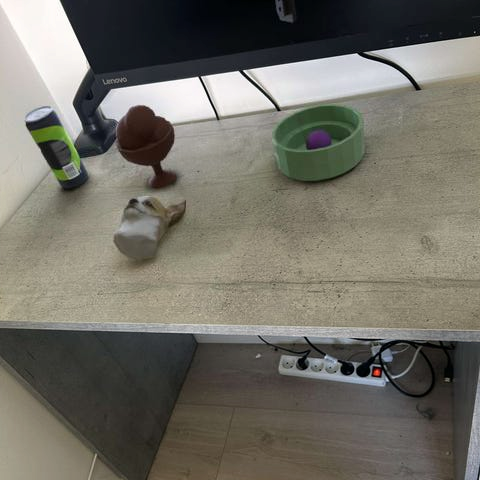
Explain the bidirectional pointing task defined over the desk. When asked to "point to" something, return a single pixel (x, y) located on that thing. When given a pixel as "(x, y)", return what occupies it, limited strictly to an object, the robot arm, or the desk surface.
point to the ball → (318, 140)
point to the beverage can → (56, 146)
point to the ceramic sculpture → (145, 226)
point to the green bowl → (323, 159)
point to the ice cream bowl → (146, 142)
